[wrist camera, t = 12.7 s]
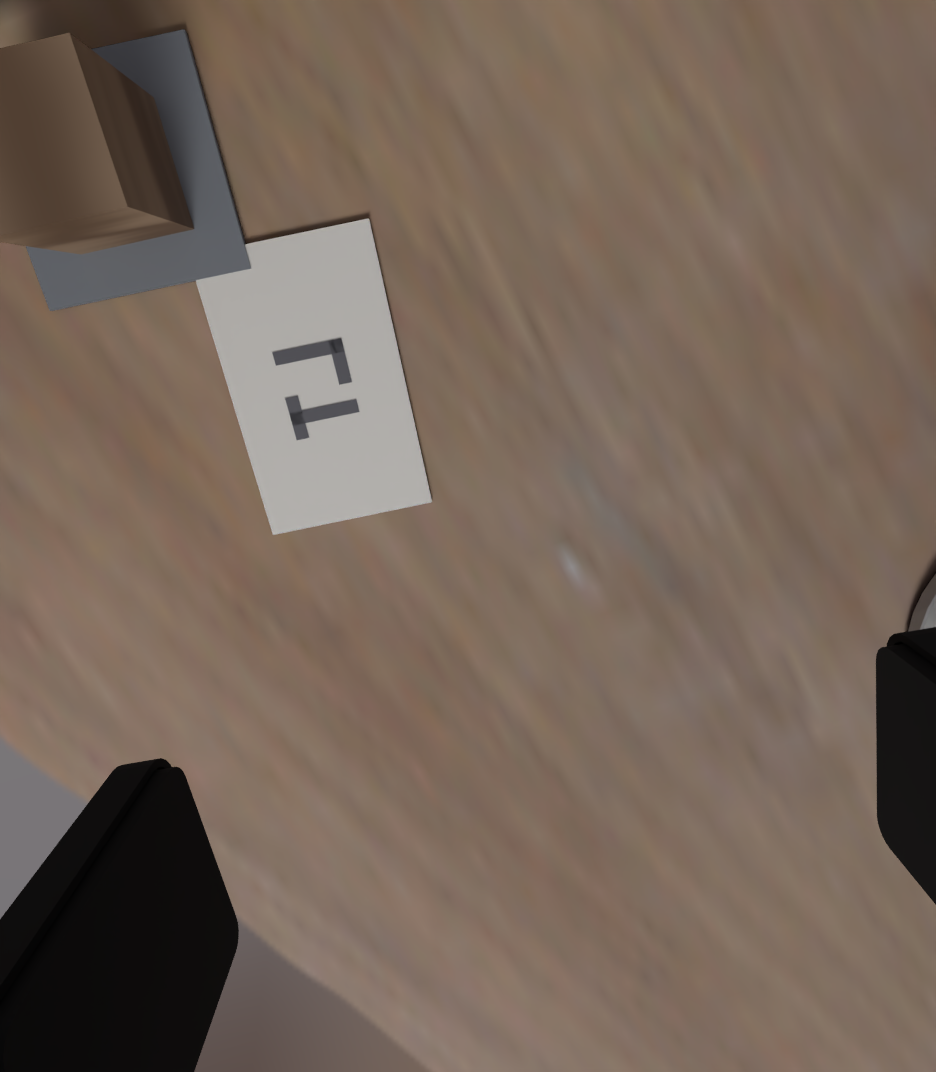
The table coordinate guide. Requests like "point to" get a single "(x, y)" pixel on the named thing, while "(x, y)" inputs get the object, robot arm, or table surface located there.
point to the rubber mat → (198, 162)
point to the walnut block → (81, 153)
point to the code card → (317, 378)
